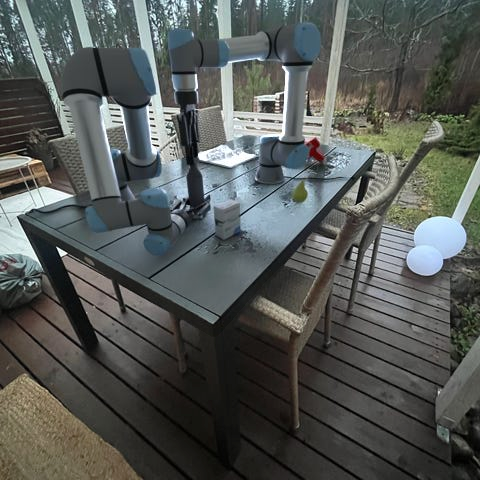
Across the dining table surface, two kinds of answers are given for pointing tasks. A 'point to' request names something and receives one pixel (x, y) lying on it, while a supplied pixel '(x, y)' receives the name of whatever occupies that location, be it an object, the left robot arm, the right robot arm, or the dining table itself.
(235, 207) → the ink box
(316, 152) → the toy gun
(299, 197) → the fruit
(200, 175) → the bottle
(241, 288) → the dining table surface
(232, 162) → the relief map
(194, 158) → the cap
